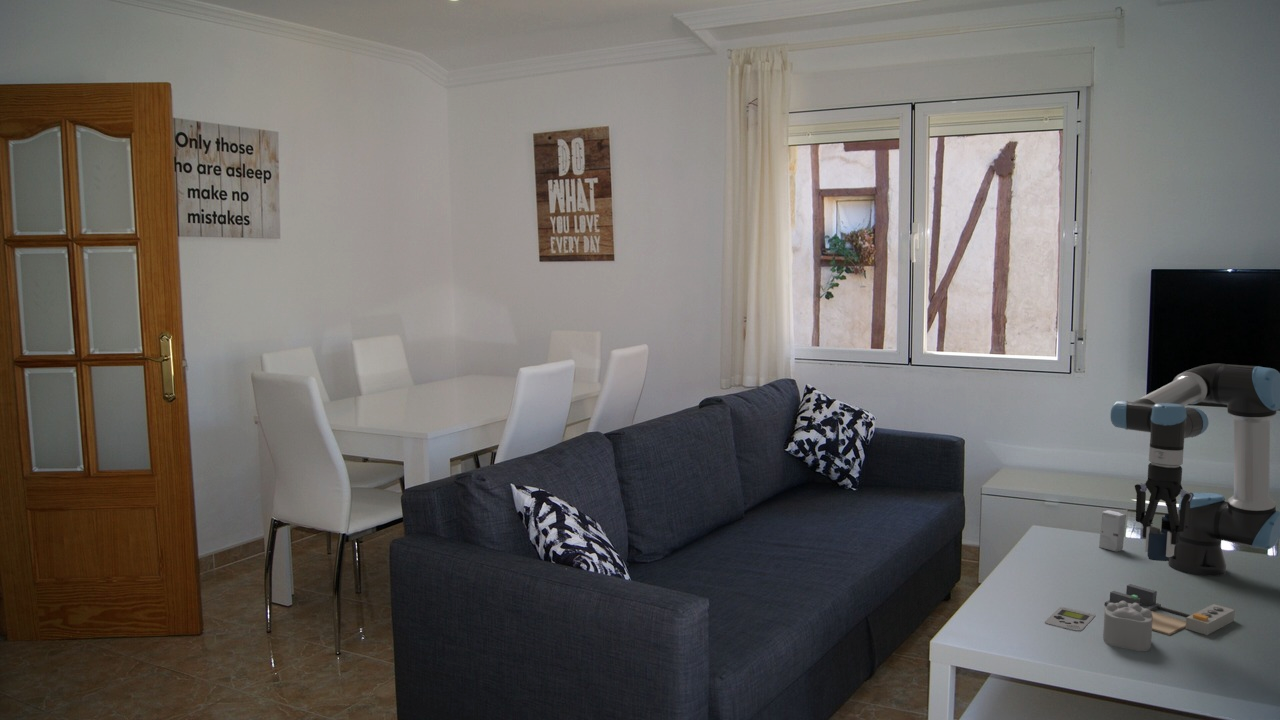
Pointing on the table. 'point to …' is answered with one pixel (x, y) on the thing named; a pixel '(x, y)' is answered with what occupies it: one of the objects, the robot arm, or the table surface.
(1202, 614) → the power strip
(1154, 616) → the mat
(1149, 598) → the frame
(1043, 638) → the table surface
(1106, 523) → the skincare box
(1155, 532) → the vaping device
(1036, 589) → the table surface
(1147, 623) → the lumpy-topped squat cylinder
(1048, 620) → the handheld gaming device
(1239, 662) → the table surface
